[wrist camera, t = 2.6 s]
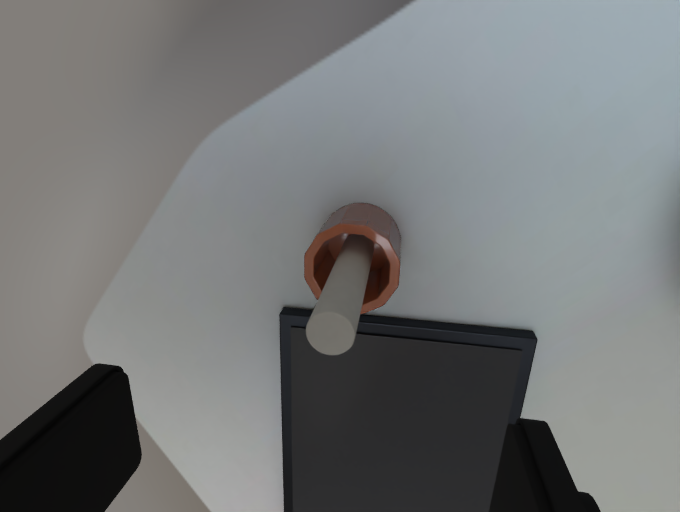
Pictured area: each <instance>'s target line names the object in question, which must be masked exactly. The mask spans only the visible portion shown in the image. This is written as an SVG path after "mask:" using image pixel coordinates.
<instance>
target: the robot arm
mask: <svg viewBox="0 0 680 512" xmlns="http://www.w3.org/2000/svg"><path fill="white" fill-rule="evenodd" d="M141 455H142V454H141V447H140V442H139V435H138V430H137V424H136V418H135V413H134V407H133V401H132V396H131V390H130V384H129V379H128V375H127V374H126V373H124V371H123V369H122V368H121V367H120V366H115V365H107V364H95V365H93V366H91V367H90V368H89V369H88V370H87V371H85V372H84V373H83V374H81V375H80V376H79V377H78V378H77V379H75V380H74V381H73V382H71V383H70V384H69V385H68V386H67V387H65V388H64V389H63V390H62V391H60V392H59V393H58V394H57V395H55V396H54V397H53V398H52V399H50V400H49V401H48V402H47V403H46V404H44V405H43V406H42V407H41V408H39V409H38V410H37V411H36V412H34V413H33V414H32V415H31V416H29V417H28V418H27V419H26V420H24V421H23V422H22V423H21V424H20V425H18V426H17V427H16V428H14V429H13V430H12V431H11V432H10V433H8V434H7V435H6V436H5V437H4V438H2V439H1V440H0V512H105V510H106V509H107V508H108V506H109V505H110V504H111V502H112V501H113V500H114V498H115V497H116V496H117V495H118V493H119V492H120V491H121V489H122V488H123V487H124V485H125V484H126V483H127V481H128V480H129V479H130V477H131V476H132V474H133V473H134V472H135V471H136V469H137V468H138V466H139V464H140V461H141ZM489 512H601V511H600V509H599V507H598V505H597V504H596V502H595V500H594V498H593V497H592V496H591V495H590V494H589V493H585V492H578V491H577V489H576V486H575V484H574V482H573V479H572V477H571V475H570V473H569V470H568V468H567V466H566V464H565V461H564V459H563V457H562V455H561V452H560V450H559V448H558V446H557V443H556V441H555V439H554V437H553V434H552V432H551V430H550V428H549V426H548V424H547V423H546V422H545V421H539V420H531V419H523V418H518V419H517V420H516V423H515V424H508V425H507V429H506V433H505V438H504V443H503V447H502V452H501V457H500V462H499V466H498V471H497V476H496V480H495V485H494V490H493V495H492V499H491V504H490V509H489Z"/></svg>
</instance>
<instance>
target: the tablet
mask: <svg viewBox="0 0 680 512" xmlns="http://www.w3.org/2000/svg"><path fill="white" fill-rule="evenodd" d="M312 312H313V310H307V309H296V308H286V307H284V308H283V309H282V311H281V312H280V314H279V317H280V360H281V403H282V446H283V490H284V512H489V509H490V504H491V499H492V495H493V490H494V485H495V480H496V476H497V471H498V466H499V462H500V457H501V452H502V447H503V443H504V438H505V433H506V429H507V425H508V424H515V423H516V420H517V419H518V418H520V416H521V412H522V407H523V403H524V398H525V394H526V389H527V385H528V380H529V376H530V371H531V367H532V362H533V358H534V353H535V349H536V344H537V337H536V336H535V334H534V332H533V331H525V330H515V329H504V328H494V327H484V326H473V325H463V324H452V323H442V322H432V321H421V320H411V319H400V318H390V317H379V316H369V315H360V317H359V322H358V327H357V331H356V336H355V340H354V343H353V345H352V346H351V348H350V349H348V350H347V351H346V352H344V353H342V354H339V355H326V354H323V353H321V352H319V351H317V350H316V349H315V348H313V347H312V345H311V344H310V343H309V341H308V339H307V336H306V326H307V323H308V321H309V319H310V317H311V314H312Z"/></svg>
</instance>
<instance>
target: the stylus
mask: <svg viewBox="0 0 680 512" xmlns="http://www.w3.org/2000/svg"><path fill="white" fill-rule="evenodd" d="M373 252H374V244H373V241H372V240H370V239H369V238H367V237H366V236H364V235H358V234H351V235H350V236H348V237H347V238H346V240H345V242H344V244H343V246H342V248H341V251H340V253H339V255H338V257H337V259H336V262H335V264H334V266H333V268H332V270H331V273H330V275H329V277H328V279H327V281H326V284H325V286H324V288H323V290H322V292H321V295H320V297H319V299H318V301H317V303H316V306H315V308H314V310H313V312H312V314H311V317H310V319H309V321H308V323H307V326H306V336H307V339H308V341H309V343H310V344H311V345H312V347H313V348H315V349H316V350H317V351H319V352H321V353H323V354H326V355H339V354H342V353H344V352H346V351H347V350H348V349H350V348H351V346H352V345H353V343H354V340H355V336H356V331H357V327H358V322H359V317H360V313H361V308H362V304H363V299H364V294H365V290H366V285H367V280H368V276H369V271H370V266H371V262H372V257H373Z"/></svg>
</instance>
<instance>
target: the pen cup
mask: <svg viewBox="0 0 680 512" xmlns="http://www.w3.org/2000/svg"><path fill="white" fill-rule="evenodd" d="M351 234H358V235H364V236H366V237H367V238H369V239H370V240H372V241H373V244H374V252H373V257H372V262H371V266H370V271H369V276H368V280H367V285H366V290H365V294H364V299H363V304H362V308H361V313H360V314H364V313H366V312H369V311H371V310H374V309H376V308H378V307H381V306H383V305H384V304H385V303H386V302H387V301H388V299H389V298H390V297H391V295H392V294H393V293H394V291H395V290H396V289H397V288H398V285H399V274H400V258H401V235H400V233H399V230H398V227H397V225H396V223H395V221H394V220H393V219H392V217H391V216H390V215H389V214H388V213H387V212H385V211H384V210H383V209H381V208H379V207H377V206H375V205H372V204H368V203H353V204H349V205H346V206H344V207H342V208H340V209H338V210H337V211H336V212H334V213H332V214H331V215H330V217H329V218H328V220H327V221H326V223H325V224H324V225H323V227H322V228H321V230H320V231H319V233H318V234H317V235H316V237H315V239H314V240H313V242H312V243H311V245H310V247H309V248H308V250H307V251H306V253H305V256H304V277H305V280H306V282H307V284H308V285H309V287H310V289H311V290H312V292H313V294H314V296H315V297H316V299H317V300H318V299H319V297H320V295H321V292H322V290H323V288H324V286H325V284H326V281H327V279H328V277H329V275H330V273H331V270H332V268H333V266H334V264H335V262H336V259H337V257H338V255H339V253H340V251H341V248H342V246H343V244H344V242H345V240H346V238H347V237H348V236H350V235H351Z"/></svg>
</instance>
